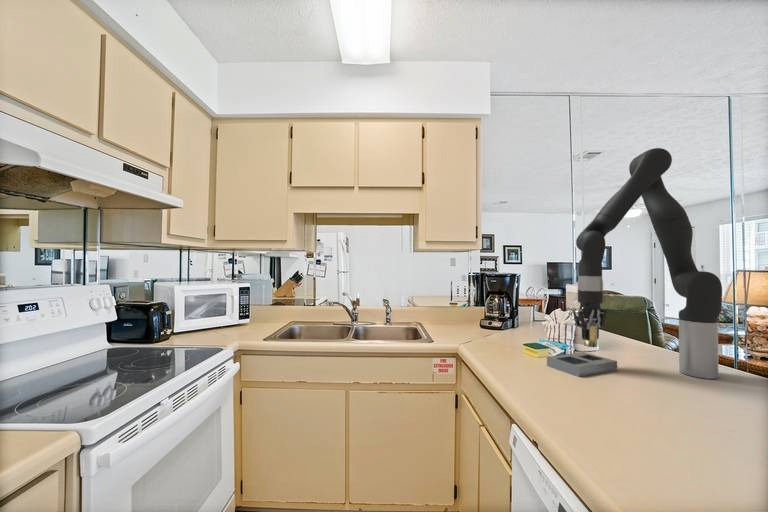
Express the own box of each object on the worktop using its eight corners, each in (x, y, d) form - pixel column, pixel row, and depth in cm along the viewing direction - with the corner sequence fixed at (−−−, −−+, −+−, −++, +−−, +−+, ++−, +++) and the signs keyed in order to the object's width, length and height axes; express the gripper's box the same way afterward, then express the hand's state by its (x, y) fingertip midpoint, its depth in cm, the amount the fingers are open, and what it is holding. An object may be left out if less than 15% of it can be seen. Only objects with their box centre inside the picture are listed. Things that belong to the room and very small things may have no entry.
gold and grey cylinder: (588, 343, 117) (588, 321, 117) (599, 346, 113) (599, 323, 114) (580, 344, 116) (580, 321, 116) (591, 347, 112) (591, 323, 112)
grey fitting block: (583, 360, 122) (583, 352, 122) (617, 370, 110) (617, 361, 111) (546, 365, 115) (546, 357, 115) (579, 376, 104) (579, 367, 104)
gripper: (593, 288, 121) (593, 335, 121) (565, 288, 116) (565, 338, 115) (614, 289, 114) (615, 340, 114) (586, 290, 109) (586, 343, 108)
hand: (590, 339), depth 115 cm, fingers closed on gold and grey cylinder, 4 cm apart
